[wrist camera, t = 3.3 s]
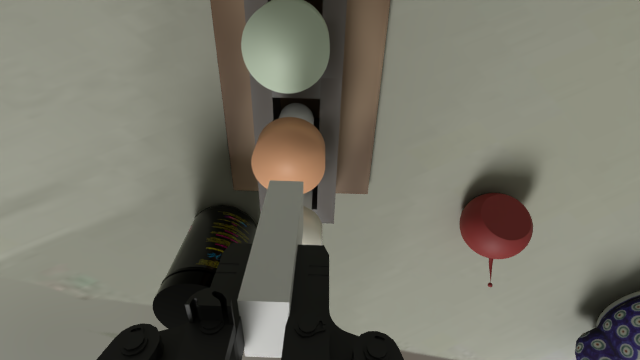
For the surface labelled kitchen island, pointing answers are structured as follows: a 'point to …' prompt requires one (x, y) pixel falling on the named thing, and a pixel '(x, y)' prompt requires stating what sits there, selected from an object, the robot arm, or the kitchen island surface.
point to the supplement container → (200, 260)
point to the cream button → (310, 223)
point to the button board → (309, 95)
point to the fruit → (496, 226)
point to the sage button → (286, 45)
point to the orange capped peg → (290, 149)
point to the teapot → (613, 333)
